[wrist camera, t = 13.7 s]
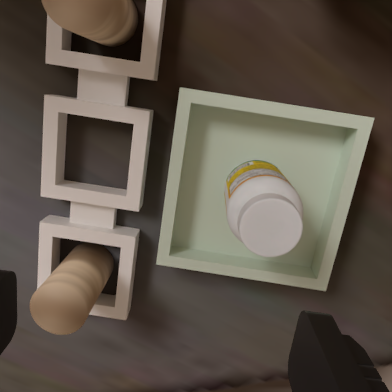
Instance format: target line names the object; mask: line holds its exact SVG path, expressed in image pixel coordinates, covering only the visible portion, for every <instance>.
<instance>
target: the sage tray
mask: <svg viewBox="0 0 392 392" xmlns="http://www.w3.org/2000/svg"><path fill="white" fill-rule="evenodd" d="M373 121H374V118H371V117H365V116H359V115H353V114H347V113H340V112H334V111H328V110H321V109H315V108H309V107H302V106H296V105H290V104H283V103H277V102H271V101H264V100H258V99H252V98H245V97H239V96H233V95H226V94H220V93H214V92H207V91H201V90H195V89H188V88H182V87H180V89H179V97H178V104H177V112H176V119H175V127H174V134H173V142H172V149H171V157H170V164H169V172H168V179H167V186H166V194H165V201H164V209H163V216H162V224H161V231H160V239H159V246H158V254H157V261H156V264H157V265H163V266H170V267H176V268H182V269H189V270H195V271H201V272H208V273H214V274H220V275H226V276H233V277H239V278H245V279H252V280H258V281H264V282H271V283H277V284H283V285H290V286H296V287H302V288H309V289H315V290H321V291H326V289H327V285H328V282H329V278H330V275H331V271H332V268H333V264H334V260H335V257H336V253H337V250H338V246H339V243H340V239H341V235H342V232H343V228H344V225H345V221H346V218H347V214H348V211H349V207H350V203H351V200H352V196H353V193H354V189H355V186H356V182H357V178H358V175H359V171H360V168H361V164H362V161H363V157H364V154H365V150H366V146H367V143H368V139H369V136H370V132H371V129H372V125H373ZM254 159H258V160H264V161H267V162H270V163H272V164H273V165H275V166H276V167H277V168H278V169H279V170H280V171H281V173H282V174H283V175H284V176H285V177H286V179H287V180H288V181H289V182H290V184H291V185H292V186H293V187H294V188H295V190H296V191H297V193H298V194H299V196H300V198H301V201H302V204H303V220H302V223H303V231H302V235H301V238H300V240H299V242H298V243H297V245H296V246H295V247H294V248H293V249H292V250H291V251H289V252H288V253H286V254H284V255H281V256H277V257H263V256H259V255H257V254H255V253H253V252H251V251H250V250H249V249H248V248H247V247H246V246H245V245H244V243H242V242H241V241H240V240H238V239H237V238H236V236H235V235H234V234H233V232H232V231H231V229H230V227H229V224H228V221H227V214H226V204H225V196H224V186H225V181H226V179H227V176H228V175H229V173H230V172H231V171H232V169H233V168H235V167H236V166H237V165H239V164H240V163H242V162H245V161H248V160H254Z"/></svg>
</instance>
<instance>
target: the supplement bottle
mask: <svg viewBox="0 0 392 392" xmlns="http://www.w3.org/2000/svg"><path fill="white" fill-rule="evenodd" d="M224 196H225V204H226V214H227V221H228V224H229V227H230V229H231V231H232V232H233V234H234V235H235V236H236V238H237V239H238V240H240V241H241V242H242V243H244V245H245V246H246V247H247V248H248V249H249V250H250V251H251V252H253V253H255V254H257V255H259V256H263V257H277V256H281V255H284V254H286V253H288V252H289V251H291V250H292V249H293V248H294V247H295V246H296V245H297V243H298V242H299V240H300V238H301V235H302V231H303V223H302V220H303V204H302V201H301V198H300V196H299V194H298V193H297V191H296V190H295V188H294V187H293V186H292V185H291V184H290V182H289V181H288V180H287V179H286V177H285V176H284V175H283V174H282V173H281V171H280V170H279V169H278V168H277V167H276V166H275V165H273V164H272V163H270V162H267V161H264V160H258V159H254V160H248V161H245V162H242V163H240V164H239V165H237V166H236V167H235V168H233V169H232V171H231V172H230V173H229V175H228V176H227V179H226V181H225V186H224Z"/></svg>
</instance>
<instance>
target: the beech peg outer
mask: <svg viewBox="0 0 392 392" xmlns="http://www.w3.org/2000/svg"><path fill="white" fill-rule="evenodd" d="M113 268H114V261H113V258H112V255H111V254H110V252H109V251H108V250H107V249H106V248H105V247H104V246H102V245H100V244H97V243H90V242H84V243H81V244H79V245H77V246H76V247H75V248H74V249H73V250H72V251H71V252H70V253H69V254H68V255H67V257H66V258H65V259H64V260H63V261H62V262H61V263H60V265H59V266H58V267H57V268H56V269H55V270H54V271H53V272H52V274H51V275H50V276H49V277H48V278H47V279H46V280H45V281H44V283H43V284H42V285H41V286H40V287H39V288H38V289H37V291H36V292H35V293H34V294H33V296H32V298H31V301H30V312H31V315H32V317H33V319H34V320H35V322H36V323H37V324H38V325H39V326H40V327H41V328H43V329H44V330H46V331H48V332H50V333H53V334H59V335H65V334H70V333H73V332H75V331H77V330H78V329H80V328H81V327H82V325H83V324H84V322H85V320H86V319H87V317H88V315H89V313H90V312H91V310H92V308H93V306H94V304H95V303H96V301H97V299H98V297H99V295H100V294H101V292H102V290H103V288H104V286H105V285H106V283H107V281H108V279H109V277H110V276H111V274H112V272H113Z"/></svg>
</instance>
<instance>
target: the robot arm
mask: <svg viewBox="0 0 392 392" xmlns="http://www.w3.org/2000/svg"><path fill="white" fill-rule="evenodd" d="M16 324H17V279H16V275H15V273H14V272H12V271H6V270H0V355H1V353H2V352H3V351H4V349H5V348H6V347H7V345H8V344H9V343H10V341H11V339H12V337H13V335H14V332H15V329H16ZM288 375H289V381H290V385H291V388H292V392H389V390H388V389H387V387H386V385H385V383H384V382H382V378H381V377H380V375H379V373H378V371H377V370H376V368H374V365H373V363H372V361H371V360H370V358H369V356H368V354H367V353H366V351H365V350H364V349H363V348H362V347H361V346H360V345H359V344H358V343H357V342H356V341H355V340H354V339H353V338H352V337H350V336H349V335H342V334H341V332H340V330H339V328H338V326H337V324H336V322H335V321H334V319H333V317H332V316H331V315H330V314H325V313H317V312H310V311H302V312H301V313H300V316H299V319H298V323H297V327H296V331H295V335H294V339H293V343H292V347H291V351H290V355H289V361H288Z"/></svg>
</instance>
